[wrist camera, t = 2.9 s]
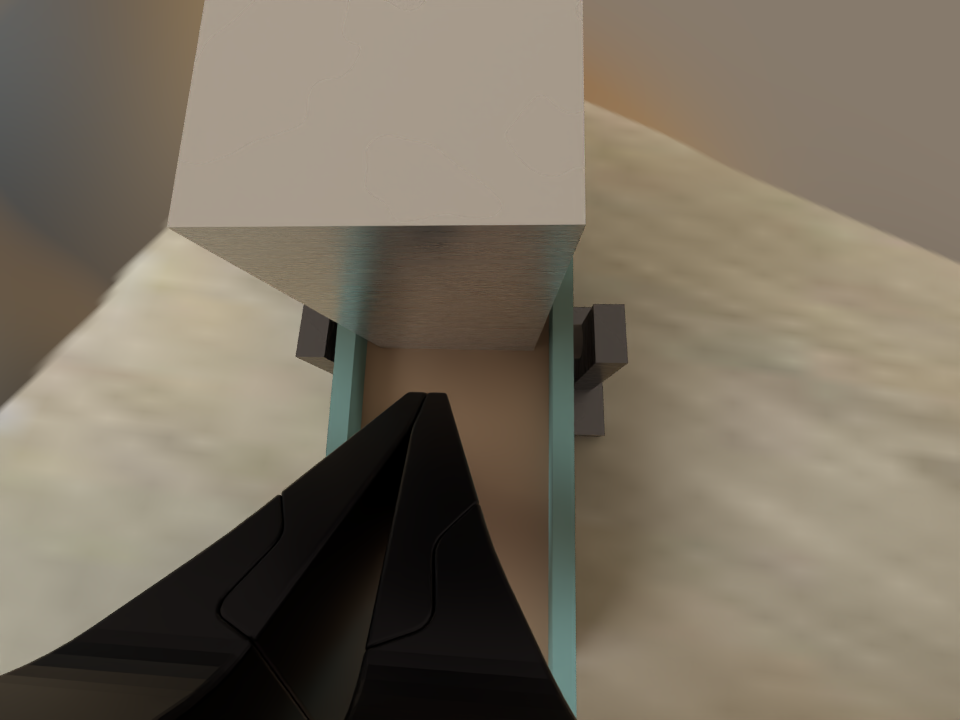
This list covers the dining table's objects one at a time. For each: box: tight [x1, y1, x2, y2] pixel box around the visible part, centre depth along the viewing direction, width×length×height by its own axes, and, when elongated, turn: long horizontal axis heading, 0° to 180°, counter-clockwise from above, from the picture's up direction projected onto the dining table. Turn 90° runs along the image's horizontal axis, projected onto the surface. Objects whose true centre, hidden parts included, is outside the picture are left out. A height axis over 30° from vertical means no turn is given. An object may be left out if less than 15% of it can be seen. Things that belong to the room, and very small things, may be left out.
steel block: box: [167, 0, 586, 351], centre depth 9 cm, size 5×5×8 cm
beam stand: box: [296, 304, 628, 436], centre depth 15 cm, size 6×12×6 cm, turn 88°
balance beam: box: [326, 256, 583, 717], centre depth 14 cm, size 26×8×5 cm, turn 178°
